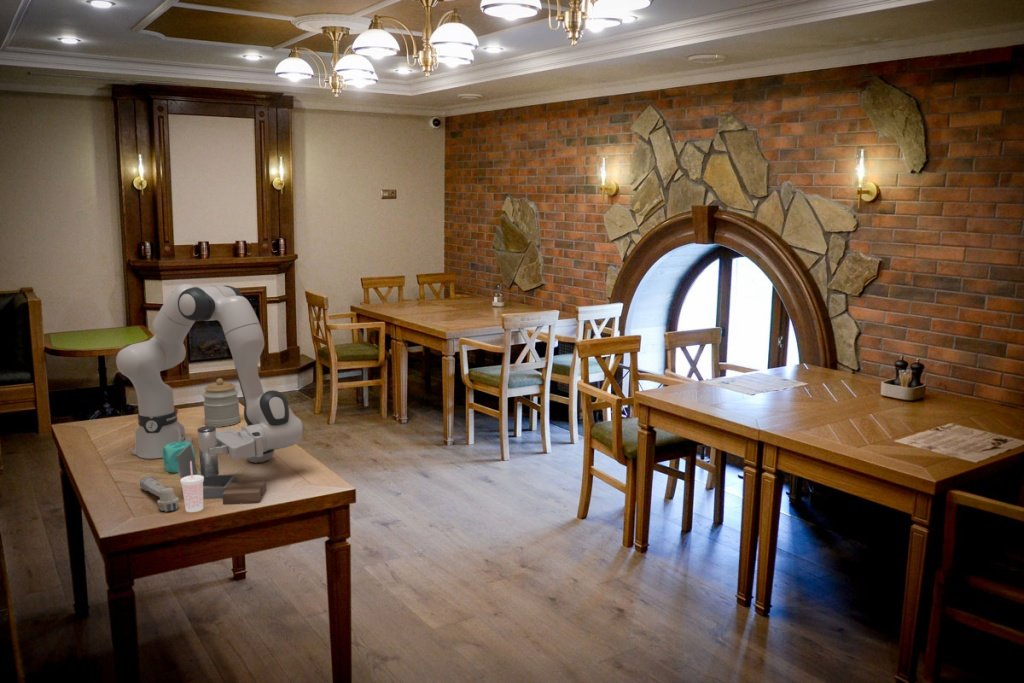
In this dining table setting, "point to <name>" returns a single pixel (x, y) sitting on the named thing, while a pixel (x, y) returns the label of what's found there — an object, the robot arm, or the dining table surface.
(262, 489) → the walnut block
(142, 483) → the grey flashlight
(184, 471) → the equipment case
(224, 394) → the jar
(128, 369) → the robot arm
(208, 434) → the steel canister
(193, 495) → the beverage cup
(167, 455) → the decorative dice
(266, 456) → the black egg-shaped speaker
